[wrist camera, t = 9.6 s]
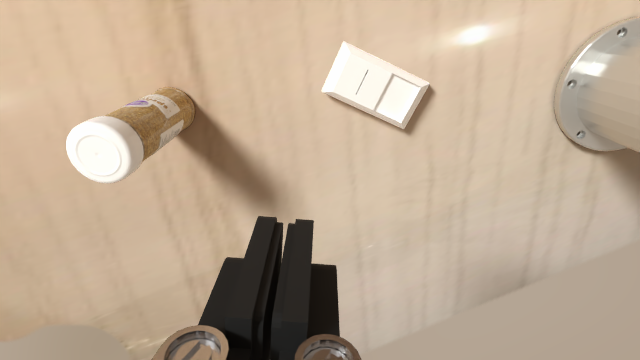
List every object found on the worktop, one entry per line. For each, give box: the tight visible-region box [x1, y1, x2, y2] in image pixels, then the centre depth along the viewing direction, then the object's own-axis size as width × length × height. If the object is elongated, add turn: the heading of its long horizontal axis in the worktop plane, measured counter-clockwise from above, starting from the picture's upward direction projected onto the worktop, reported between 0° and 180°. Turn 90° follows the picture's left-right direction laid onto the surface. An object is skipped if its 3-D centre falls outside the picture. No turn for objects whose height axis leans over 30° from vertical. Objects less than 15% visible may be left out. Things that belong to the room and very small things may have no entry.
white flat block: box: [322, 41, 430, 129], centre depth 34 cm, size 5×9×3 cm, turn 66°
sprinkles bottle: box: [66, 87, 195, 183], centre depth 30 cm, size 5×5×14 cm
